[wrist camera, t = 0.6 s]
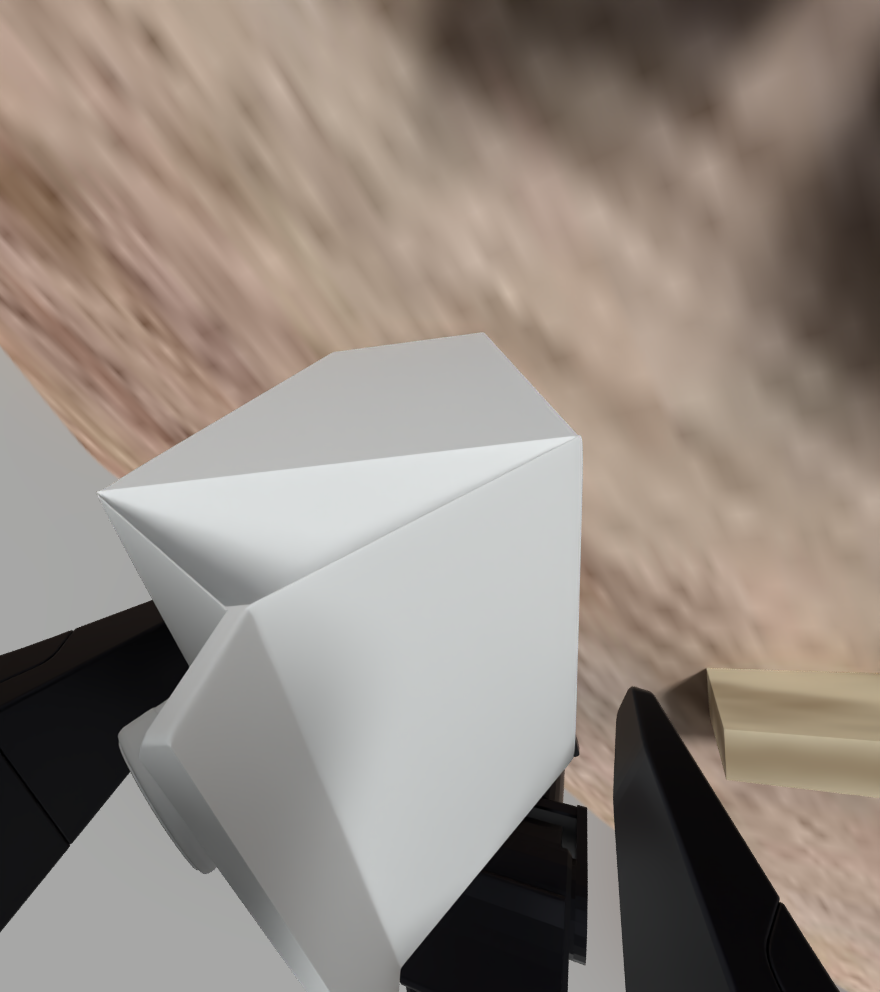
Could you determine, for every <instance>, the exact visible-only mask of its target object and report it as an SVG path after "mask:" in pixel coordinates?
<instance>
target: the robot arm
mask: <svg viewBox="0 0 880 992" xmlns="http://www.w3.org/2000/svg"><path fill="white" fill-rule="evenodd" d="M188 669H189V665H188V663H187V661H186V660H185V658H184V656H183V654H182V652H181V650H180V649H179V647H178V645H177V643H176V641H175V640H174V638H173V636H172V634H171V632H170V630H169V629H168V627H167V625H166V623H165V621H164V620H163V618H162V616H161V614H160V612H159V611H158V609H157V607H156V605H155V603H154V601H153V600H151V601H148V602H146V603H143V604H140V605H138V606H135V607H132V608H130V609H127V610H124V611H122V612H119V613H116V614H113V615H111V616H108V617H106V618H103V619H100V620H97V621H95V622H92V623H89V624H87V625H84V626H81V627H79V628H76V629H75V630H74V631H72V630H71V631H68V632H65V633H62V634H60V635H57V636H55V637H52V638H49V639H46V640H43V641H41V642H38V643H35V644H33V645H30V646H27V647H24V648H21V649H18V650H15V651H12V652H9V653H6V654H3V655H0V932H1V931H2V929H3V928H4V927H5V926H6V925H7V923H8V922H9V921H10V920H11V918H12V917H13V916H14V915H15V914H16V912H17V911H18V910H19V909H20V907H21V906H22V905H23V904H24V902H25V901H26V900H27V899H28V897H29V896H30V895H31V894H32V893H33V891H34V890H35V889H36V888H37V886H38V885H39V884H40V883H41V881H42V880H43V879H44V878H45V877H46V875H47V874H48V873H49V872H50V870H51V869H52V868H53V867H54V865H55V864H56V863H57V862H58V860H59V859H60V858H61V857H62V856H63V854H64V853H65V852H66V851H67V849H68V848H69V847H70V844H72V843H73V841H74V840H75V839H76V838H77V836H79V834H80V833H81V832H82V831H83V829H84V828H85V827H86V826H87V824H88V823H89V822H90V821H91V820H92V818H93V817H94V816H95V814H96V813H97V812H98V811H99V810H100V808H101V807H102V806H103V805H104V803H105V802H106V801H107V800H108V799H109V797H110V796H111V795H112V794H113V792H114V791H115V790H116V789H117V787H118V786H119V785H120V784H121V783H122V781H123V780H124V779H125V778H126V776H127V775H128V774H129V773H130V770H129V768H128V766H127V764H126V762H125V760H124V758H123V756H122V753H121V751H120V748H119V739H118V734H119V732H120V731H121V730H122V728H124V727H125V726H126V725H128V724H129V723H131V722H132V721H134V720H135V719H137V718H138V717H140V716H141V715H143V714H144V713H146V712H147V711H149V710H150V709H152V708H155V707H157V706H158V705H160V704H162V703H163V702H164V701H166V700H167V699H169V697H170V696H171V694H172V693H173V691H174V690H175V688H176V687H177V685H178V684H179V682H180V681H181V679H182V678H183V676H184V675H185V673H186V672H187V670H188ZM578 755H579V744H578V741H577V737H576V734H575V750H574V757H576V756H578ZM564 774H565V769H564V770H563V772H562V773H561V774H560V775H559V777H558V778H557V779H556V780H555V781H554V783H553V784H552V785H551V786H550V787H549V789H548V790H547V791H546V792H545V793H544V795H543V796H542V797H541V798H540V800H539V801H538V802H537V803H536V804H535V806H534V807H533V808H532V809H531V810H530V812H529V813H528V814H527V815H526V817H525V818H524V819H523V820H522V821H521V823H520V824H519V825H518V826H517V827H516V829H515V830H514V831H513V832H512V834H511V835H510V836H509V837H508V838H507V840H506V841H505V842H504V843H503V844H502V846H501V847H500V848H499V849H498V851H497V852H496V853H495V854H494V855H493V857H492V858H491V859H490V860H489V861H488V863H487V864H486V865H485V866H484V868H483V869H482V870H481V871H480V872H479V874H478V875H477V876H476V877H475V878H474V880H473V881H472V882H471V883H470V885H469V886H468V887H467V888H466V889H465V891H464V892H463V893H462V894H461V895H460V897H459V898H458V899H457V900H456V901H455V903H454V904H453V905H452V906H451V908H450V909H449V910H448V911H447V912H446V914H445V915H444V916H443V917H442V918H441V920H440V921H439V922H438V923H437V925H436V926H435V927H434V928H433V929H432V931H431V932H430V933H429V934H428V935H427V937H426V938H425V939H424V940H423V942H422V943H421V944H420V945H419V946H418V948H417V949H416V950H415V951H414V952H413V954H412V955H411V956H410V957H409V959H408V960H407V961H406V962H405V964H404V965H403V966H402V968H401V970H400V983H401V984H402V985H404V986H406V989H407V992H568V964H569V960H572V961H574V962H578V963H580V964H583V965H585V963H586V946H587V945H586V944H587V901H588V900H587V899H588V881H587V880H588V879H587V878H588V869H587V866H588V865H587V864H588V863H587V807H584V806H580V805H577V807H576V806H573V805H569V804H565V803H563V793H564ZM613 805H614V823H615V838H616V851H617V852H616V853H617V867H618V881H619V897H620V912H621V927H622V942H623V957H624V971H625V986H626V992H840V991H839V990H838V988H837V987H836V985H835V984H834V982H833V981H832V979H831V978H830V976H829V974H828V973H827V971H826V970H825V968H824V967H823V965H822V964H821V962H820V960H819V959H818V957H817V956H816V954H815V953H814V951H813V950H812V948H811V946H810V945H809V943H808V942H807V940H806V939H805V937H804V936H803V934H802V932H801V931H800V929H799V928H798V926H797V924H796V923H795V921H794V919H793V918H792V916H791V915H790V913H789V911H788V910H787V908H786V907H785V905H784V904H783V903H781V902H779V900H780V898H779V896H778V894H777V892H776V891H775V889H774V888H773V886H772V884H771V883H770V881H769V879H768V878H767V876H766V875H765V873H764V871H763V870H762V868H761V867H760V865H759V863H758V862H757V860H756V858H755V857H754V855H753V854H752V852H751V850H750V849H749V847H748V846H747V844H746V842H745V841H744V839H743V838H742V836H741V834H740V833H739V831H738V829H737V828H736V826H735V825H734V823H733V821H732V820H731V818H730V817H729V815H728V813H727V812H726V810H725V808H724V807H723V805H722V804H721V802H720V800H719V799H718V797H717V796H716V794H715V792H714V791H713V789H712V787H711V786H710V784H709V783H708V781H707V779H706V778H705V776H704V775H703V773H702V771H701V770H700V768H699V767H698V765H697V763H696V762H695V760H694V758H693V757H692V755H691V754H690V752H689V750H688V749H687V747H686V746H685V744H684V742H683V741H682V739H681V737H680V736H679V734H678V733H677V731H676V729H675V728H674V726H673V725H672V723H671V721H670V720H669V718H668V717H667V715H666V713H665V712H664V710H663V708H662V707H661V705H660V704H659V702H658V700H657V699H656V697H655V696H654V694H653V693H651V692H650V691H647V690H644V689H641V688H637V687H633V686H632V687H630V688H629V689H628V691H627V693H626V695H625V697H624V699H623V701H622V704H621V706H620V708H619V710H618V713H617V719H616V739H615V762H614V786H613Z"/></svg>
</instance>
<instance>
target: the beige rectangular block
mask: <svg viewBox="0 0 880 992" xmlns="http://www.w3.org/2000/svg"><path fill="white" fill-rule="evenodd" d="M706 669H707V684H708V700H709V715H710V720H711V723H712V727H713V731H714V735H715V738H716V742H717V746H718V750H719V753H720V757H721V761H722V765H723V769H724V772H725V776H726V780H732V781H740V782H748V783H757V784H765V785H774V786H782V787H791V788H799V789H808V790H816V791H824V792H833V793H841V794H850V795H858V796H867V797H875V798H880V673H850V672H818V671H785V670H753V669H721V668H706Z"/></svg>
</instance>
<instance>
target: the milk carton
mask: <svg viewBox="0 0 880 992" xmlns="http://www.w3.org/2000/svg"><path fill="white" fill-rule="evenodd" d="M582 481H583V448H582V438H581V436H580V435H577V434H576V433H575V432H574V430H573V429H572V428H571V427H570V426H569V425H568V424H567V423H566V422H565V421H564V420H563V418H562V417H561V416H560V415H559V414H558V413H557V412H556V411H555V410H554V409H553V407H552V406H551V405H550V404H549V403H548V402H547V401H546V400H545V399H544V398H543V397H542V395H541V394H540V393H539V392H538V391H537V390H536V389H535V388H534V387H533V386H532V384H531V383H530V382H529V381H528V380H527V379H526V378H525V377H524V376H523V375H522V374H521V372H520V371H519V370H518V369H517V368H516V367H515V366H514V365H513V364H512V363H511V361H510V360H509V359H508V358H507V357H506V356H505V355H504V354H503V353H502V352H501V351H500V349H499V348H498V347H497V346H496V345H495V344H494V343H493V342H492V341H491V340H490V338H489V337H488V336H487V335H486V334H485V333H482V332H481V333H474V334H466V335H459V336H451V337H444V338H436V339H429V340H421V341H414V342H406V343H398V344H391V345H383V346H376V347H368V348H361V349H353V350H346V351H338V352H333V353H331V354H329V355H327V356H326V357H324V358H322V359H320V360H319V361H317V362H315V363H314V364H312V365H310V366H309V367H307V368H305V369H304V370H302V371H300V372H299V373H297V374H295V375H293V376H292V377H290V378H288V379H287V380H285V381H283V382H282V383H280V384H278V385H277V386H275V387H273V388H272V389H270V390H268V391H266V392H265V393H263V394H261V395H260V396H258V397H256V398H255V399H253V400H251V401H250V402H248V403H246V404H245V405H243V406H241V407H239V408H238V409H236V410H234V411H233V412H231V413H229V414H228V415H226V416H224V417H223V418H221V419H219V420H218V421H216V422H214V423H212V424H211V425H209V426H207V427H206V428H204V429H202V430H201V431H199V432H197V433H196V434H194V435H192V436H191V437H189V438H187V439H185V440H184V441H182V442H180V443H179V444H177V445H175V446H174V447H172V448H170V449H169V450H167V451H165V452H164V453H162V454H160V455H158V456H157V457H155V458H153V459H152V460H150V461H148V462H147V463H145V464H143V465H142V466H140V467H138V468H137V469H135V470H133V471H132V472H130V473H129V474H127V475H125V476H124V477H122V478H121V479H119V480H117V481H116V482H114V483H113V484H111V485H110V486H108V487H107V488H105V489H103V490H102V491H98V492H96V494H97V496H98V498H99V500H100V502H101V504H102V506H103V508H104V510H105V512H106V514H107V516H108V518H109V519H110V522H111V524H112V525H113V527H114V529H115V531H116V533H117V535H118V537H119V538H120V540H121V542H122V544H123V546H124V548H125V550H126V552H127V553H128V555H129V557H130V559H131V561H132V563H133V565H134V566H135V568H136V570H137V572H138V574H139V576H140V578H141V579H142V581H143V583H144V585H145V587H146V589H147V590H148V592H149V594H150V596H151V598H152V600H153V601H154V603H155V605H156V607H157V609H158V611H159V612H160V614H161V616H162V618H163V620H164V621H165V623H166V625H167V627H168V629H169V630H170V632H171V634H172V636H173V638H174V640H175V641H176V643H177V645H178V647H179V649H180V650H181V652H182V654H183V656H184V658H185V660H186V661H187V663H188V665H189V669H188V670H187V672H186V673H185V675H184V676H183V678H182V679H181V681H180V682H179V684H178V685H177V687H176V688H175V690H174V691H173V693H172V694H171V696H170V697H169V699H167V700H166V701H164V702H163V703H162V704H160V705H158V706H157V707H155V708H152V709H150V710H149V711H147V712H146V713H144V714H143V715H141V716H140V717H138V718H137V719H135V720H134V721H132V722H131V723H129V724H128V725H126V726H125V727H124V728H122V730H121V731H120V732H119V734H118V739H119V748H120V751H121V753H122V756H123V758H124V760H125V762H126V764H127V766H128V768H129V770H130V772H131V774H132V775H133V777H134V779H135V781H136V783H137V785H138V787H139V788H140V790H141V792H142V793H143V795H144V797H145V799H146V800H147V802H148V804H149V805H150V807H151V809H152V810H153V812H154V813H155V815H156V817H157V818H158V820H159V822H160V823H161V825H162V826H163V828H164V829H165V831H166V832H167V834H168V835H169V837H170V838H171V839H172V841H173V842H174V843H175V845H176V847H177V848H178V849H179V851H180V852H181V853H182V854H183V856H184V857H185V858H186V859H187V861H188V862H189V863H190V864H191V865H192V867H193V868H195V869H196V870H199V871H200V872H202V873H203V874H207V873H210V872H212V871H213V870H214V869H215V868H216V867H217V868H218V869H219V871H220V872H221V873H222V875H223V876H224V877H225V879H226V880H227V882H228V883H229V885H230V886H231V887H232V889H233V890H234V892H235V893H236V894H237V896H238V897H239V899H240V900H241V901H242V903H243V904H244V905H245V907H246V908H247V909H248V911H249V912H250V914H251V915H252V917H253V918H254V919H255V921H256V922H257V924H258V925H259V926H260V928H261V929H262V930H263V932H264V933H265V935H266V936H267V938H268V939H269V940H270V942H271V943H272V944H273V946H274V947H275V949H276V950H277V951H278V953H279V954H280V956H281V957H282V958H283V960H284V961H285V963H286V964H287V965H288V967H289V968H290V969H291V971H292V972H293V974H294V975H295V976H296V978H297V979H298V981H299V982H300V983H301V985H302V986H303V988H304V989H305V990H306V992H399V982H400V970H401V968H402V966H403V965H404V964H405V962H406V961H407V960H408V959H409V957H410V956H411V955H412V954H413V952H414V951H415V950H416V949H417V948H418V946H419V945H420V944H421V943H422V942H423V940H424V939H425V938H426V937H427V935H428V934H429V933H430V932H431V931H432V929H433V928H434V927H435V926H436V925H437V923H438V922H439V921H440V920H441V918H442V917H443V916H444V915H445V914H446V912H447V911H448V910H449V909H450V908H451V906H452V905H453V904H454V903H455V901H456V900H457V899H458V898H459V897H460V895H461V894H462V893H463V892H464V891H465V889H466V888H467V887H468V886H469V885H470V883H471V882H472V881H473V880H474V878H475V877H476V876H477V875H478V874H479V872H480V871H481V870H482V869H483V868H484V866H485V865H486V864H487V863H488V861H489V860H490V859H491V858H492V857H493V855H494V854H495V853H496V852H497V851H498V849H499V848H500V847H501V846H502V844H503V843H504V842H505V841H506V840H507V838H508V837H509V836H510V835H511V834H512V832H513V831H514V830H515V829H516V827H517V826H518V825H519V824H520V823H521V821H522V820H523V819H524V818H525V817H526V815H527V814H528V813H529V812H530V810H531V809H532V808H533V807H534V806H535V804H536V803H537V802H538V801H539V800H540V798H541V797H542V796H543V795H544V793H545V792H546V791H547V790H548V789H549V787H550V786H551V785H552V784H553V783H554V781H555V780H556V779H557V778H558V777H559V775H560V774H561V773H562V772H563V770H564V769H565V768H566V767H567V766H568V764H569V763H570V762H571V760H572V759H573V757H574V750H575V734H576V701H577V665H578V629H579V593H580V557H581V521H582Z"/></svg>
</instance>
